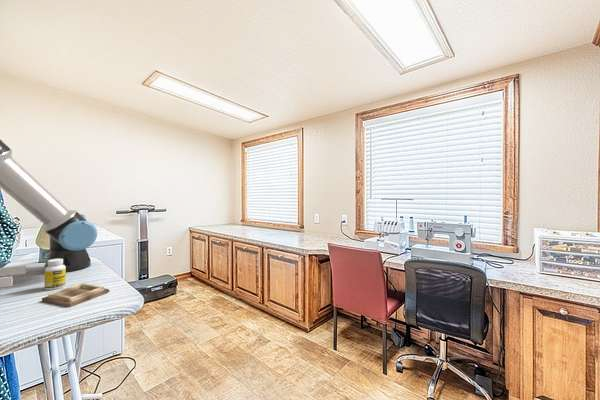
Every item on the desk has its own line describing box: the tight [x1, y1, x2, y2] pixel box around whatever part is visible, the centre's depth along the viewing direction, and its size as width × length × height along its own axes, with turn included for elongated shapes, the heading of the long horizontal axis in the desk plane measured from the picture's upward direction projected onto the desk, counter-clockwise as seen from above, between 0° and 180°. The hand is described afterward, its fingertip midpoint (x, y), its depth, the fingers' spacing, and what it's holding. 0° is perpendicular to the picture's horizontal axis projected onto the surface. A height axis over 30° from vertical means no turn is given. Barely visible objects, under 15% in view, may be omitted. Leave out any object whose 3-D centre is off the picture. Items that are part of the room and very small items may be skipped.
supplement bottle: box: [44, 259, 67, 291], centre depth 92 cm, size 5×5×10 cm
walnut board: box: [41, 283, 110, 308], centre depth 85 cm, size 12×12×2 cm
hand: (19, 274), depth 87 cm, fingers open, 13 cm apart
